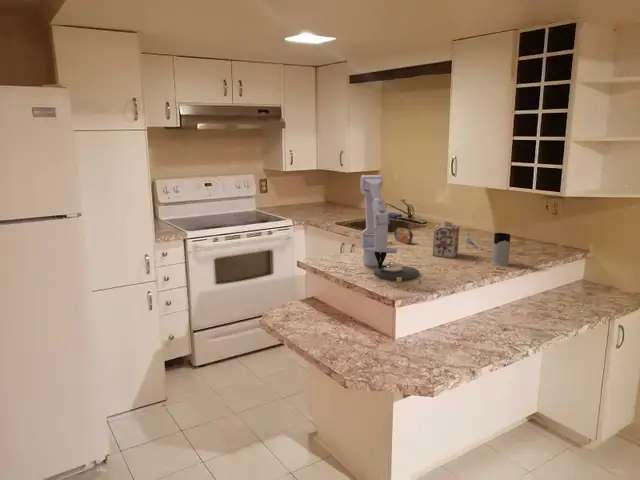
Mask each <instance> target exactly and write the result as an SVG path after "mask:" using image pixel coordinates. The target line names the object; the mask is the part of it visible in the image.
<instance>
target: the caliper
mask: <svg viewBox="0 0 640 480" xmlns="http://www.w3.org/2000/svg"><path fill="white" fill-rule="evenodd" d="M465 237H466V238H465V242H466V241H467V242H469V243H472V244H473V245H474V246H475V247H476V248H477V247H478V248H482V247H481V245H480V244H478V243H477V241H475V240H474V238H473V236H471V234H470V232H467V234H466V236H465ZM467 242H466V243H467ZM478 248H477V249H478Z"/></svg>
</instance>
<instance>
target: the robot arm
mask: <svg viewBox="0 0 640 480" xmlns="http://www.w3.org/2000/svg"><path fill="white" fill-rule="evenodd" d="M383 179H384V178H383V176H382V175H381V174H378V175H377V174H376V175H370V174H369V175H368V174H365V175H364V174H362V175H361V176H360V179H359V182H360V183H359V184H360V185H359V186H360V188H359V189H360V194H363V195H364V196H363V197H364V207H365V208H364V209H365V229H363V230H362V231H361V232H360V240H359V243H360V247H361V248H362V249H363V256H362V257H363V258H362V259H363V262H362V265H364V266H368V267H373V266H377V267H378V269H382V265H383V264H384V261H385V260H386V257H387V254H396V255H397V254H398V249H397V248H395V247H394V248H393V247H388V232H389V231H388V229H389V225H390V223H391V214H390V212H389V211H388V210H387V207H386V203H385V200H383V199H382V195H381V189H382V187H383V184H384V183H383V181H384V180H383Z"/></svg>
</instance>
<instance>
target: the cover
mask: <svg viewBox="0 0 640 480" xmlns="http://www.w3.org/2000/svg"><path fill="white" fill-rule="evenodd" d="M403 266H404V265H403V264H401V263H397V262H395V261H393V262H392V261H391V262H385V263H383V264H382V271H383V272H386V273H393V274H396V273H401V272H402V269H403Z"/></svg>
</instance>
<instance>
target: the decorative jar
mask: <svg viewBox="0 0 640 480" xmlns="http://www.w3.org/2000/svg"><path fill="white" fill-rule="evenodd" d="M432 232H433V239H432V253H431V254H432V257H439V258H440V257H443V258H450V259H454V258H455V257H456V256H457V255H458V252H459V239H460V236H459V235H460V227H459V226H458V225H456V224H453V223H452V221H447V220H446V221H445V220H444V221H442V223H439V224H436V225H435V227H434V229H433V231H432Z"/></svg>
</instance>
